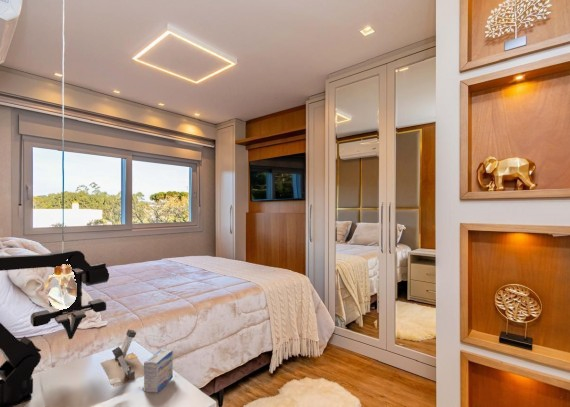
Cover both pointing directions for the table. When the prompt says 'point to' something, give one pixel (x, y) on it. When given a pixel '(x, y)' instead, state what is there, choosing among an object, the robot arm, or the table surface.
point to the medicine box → (158, 371)
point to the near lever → (121, 359)
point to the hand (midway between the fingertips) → (70, 338)
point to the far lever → (127, 341)
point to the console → (117, 372)
